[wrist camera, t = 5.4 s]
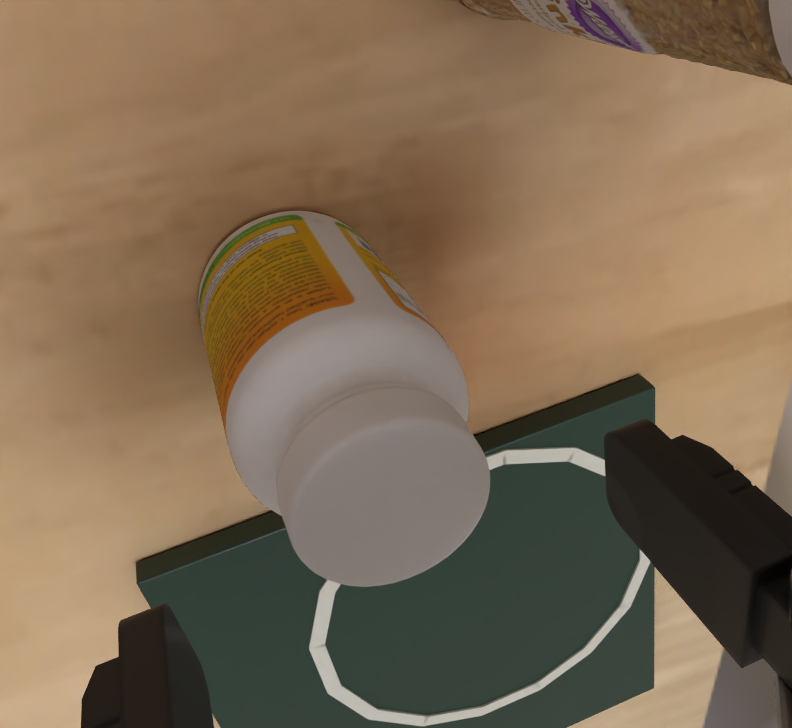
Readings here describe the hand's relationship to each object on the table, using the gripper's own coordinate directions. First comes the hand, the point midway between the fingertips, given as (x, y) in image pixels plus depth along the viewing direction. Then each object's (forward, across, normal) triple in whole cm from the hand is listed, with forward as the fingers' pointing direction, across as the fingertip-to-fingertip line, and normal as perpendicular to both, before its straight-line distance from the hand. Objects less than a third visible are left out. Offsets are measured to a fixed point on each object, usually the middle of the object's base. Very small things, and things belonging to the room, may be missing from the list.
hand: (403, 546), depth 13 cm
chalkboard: (+11, -2, +17) cm, 20 cm away
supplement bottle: (+11, 0, 0) cm, 11 cm away
